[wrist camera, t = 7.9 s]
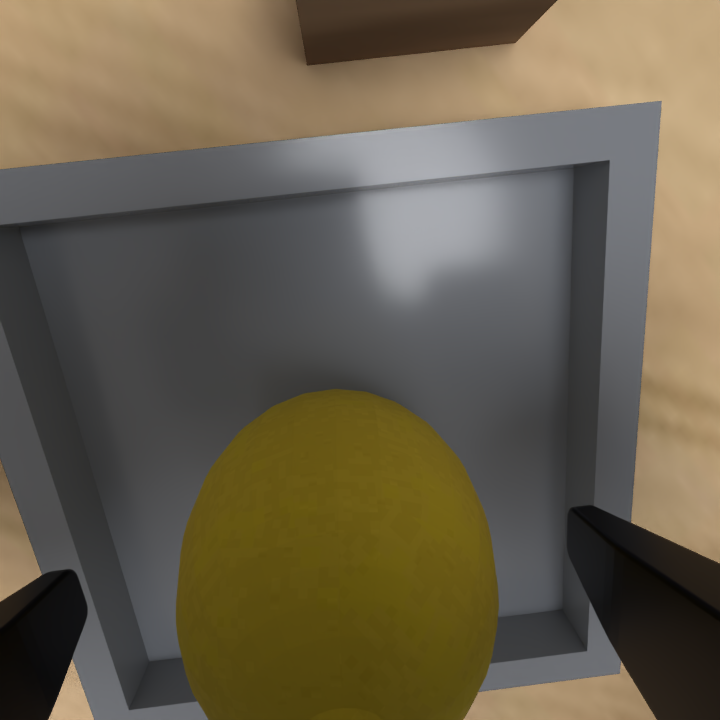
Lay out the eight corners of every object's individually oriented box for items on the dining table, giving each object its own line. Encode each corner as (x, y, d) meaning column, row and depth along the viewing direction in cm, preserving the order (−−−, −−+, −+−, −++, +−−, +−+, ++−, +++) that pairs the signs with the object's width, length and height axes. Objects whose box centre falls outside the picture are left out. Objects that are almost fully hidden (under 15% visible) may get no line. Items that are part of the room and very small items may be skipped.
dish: (577, 605, 16) (619, 673, 14) (137, 661, 16) (101, 740, 13) (594, 126, 12) (661, 100, 9) (-9, 189, 11) (-101, 180, 9)
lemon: (190, 429, 12) (-45, 773, 5) (357, 304, 12) (409, 463, 4) (319, 565, 14) (303, 996, 6) (475, 460, 13) (679, 799, 5)
